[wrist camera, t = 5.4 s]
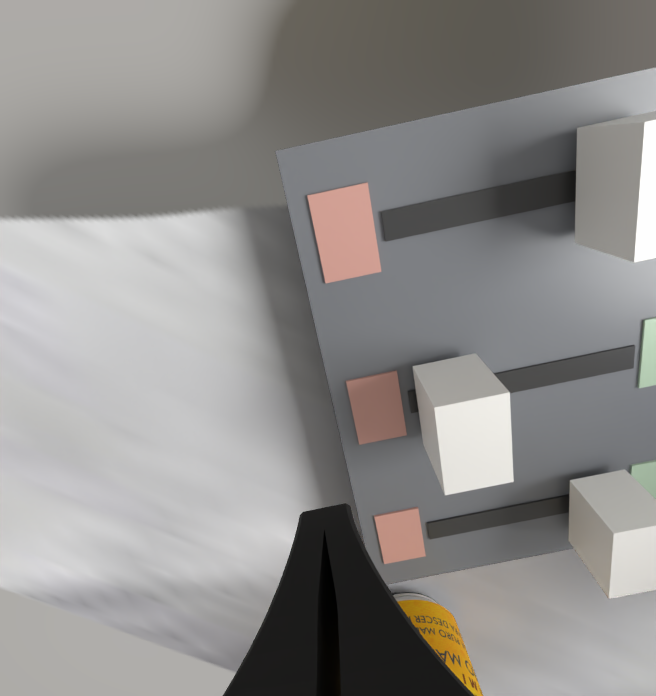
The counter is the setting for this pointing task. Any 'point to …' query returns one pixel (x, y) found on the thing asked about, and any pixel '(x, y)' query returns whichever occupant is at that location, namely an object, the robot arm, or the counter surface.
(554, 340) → the breaker board
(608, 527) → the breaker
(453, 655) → the yellow and white cylinder
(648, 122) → the block
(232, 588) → the counter surface
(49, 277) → the counter surface
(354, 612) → the robot arm
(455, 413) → the block
